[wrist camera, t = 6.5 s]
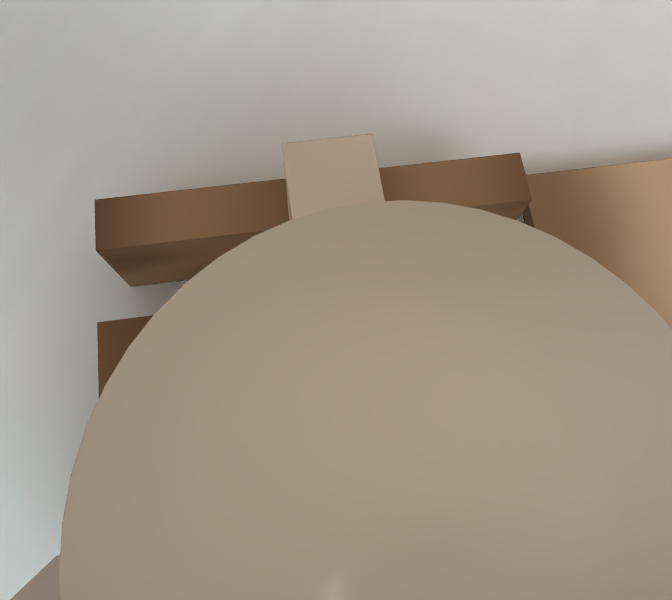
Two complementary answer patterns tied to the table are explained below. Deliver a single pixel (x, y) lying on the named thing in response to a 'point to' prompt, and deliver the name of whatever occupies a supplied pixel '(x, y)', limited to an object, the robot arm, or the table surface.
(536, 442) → the white cylinder
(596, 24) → the table surface
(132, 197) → the holder
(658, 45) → the table surface
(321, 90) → the table surface
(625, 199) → the square wooden board
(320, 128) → the table surface
